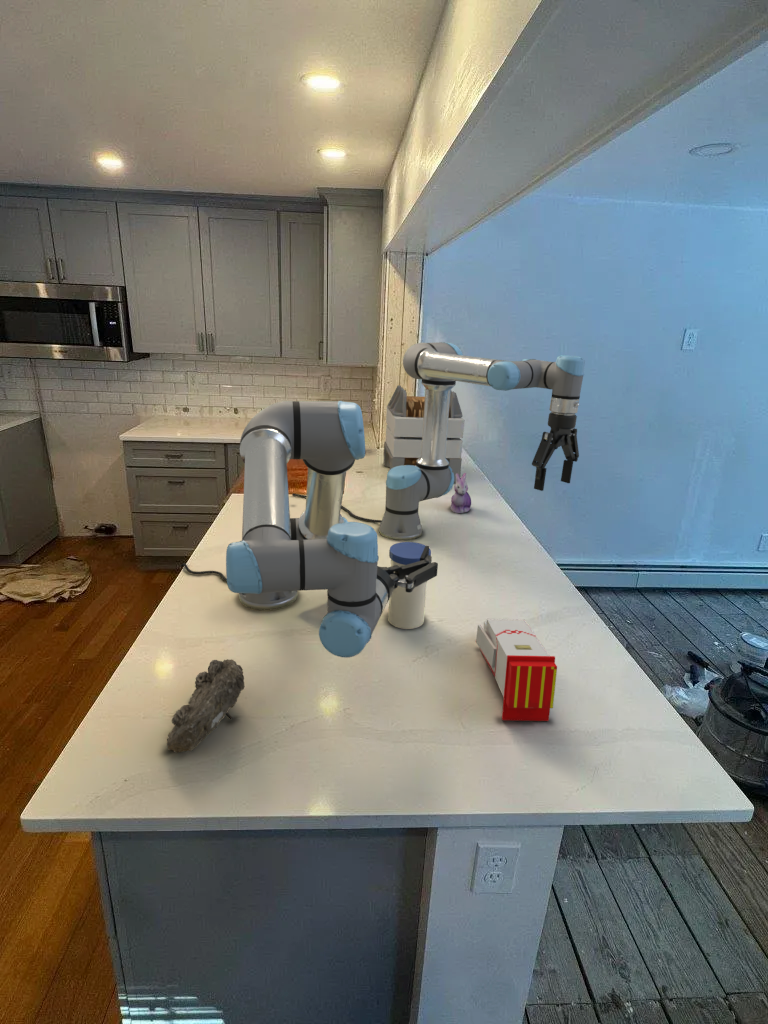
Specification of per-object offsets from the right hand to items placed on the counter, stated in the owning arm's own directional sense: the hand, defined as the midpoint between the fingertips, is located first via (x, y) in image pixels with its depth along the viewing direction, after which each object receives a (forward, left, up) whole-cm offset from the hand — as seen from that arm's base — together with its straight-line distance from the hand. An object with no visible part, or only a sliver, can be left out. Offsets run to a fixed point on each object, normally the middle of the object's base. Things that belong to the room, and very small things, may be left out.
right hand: (552, 485), depth 166 cm
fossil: (0, -107, -28) cm, 110 cm away
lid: (-4, -52, -9) cm, 53 cm away
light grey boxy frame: (-101, +46, -28) cm, 115 cm away
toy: (+28, -51, -28) cm, 65 cm away
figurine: (-53, +23, -28) cm, 64 cm away
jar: (-4, -52, -28) cm, 60 cm away
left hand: (+8, -69, 0) cm, 69 cm away
